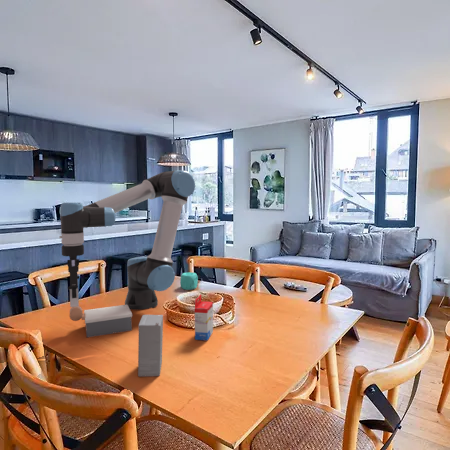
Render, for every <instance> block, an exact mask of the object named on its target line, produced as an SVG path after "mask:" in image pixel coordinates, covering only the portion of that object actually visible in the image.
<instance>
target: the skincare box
mask: <svg viewBox="0 0 450 450" xmlns="http://www.w3.org/2000/svg"><path fill="white" fill-rule="evenodd" d="M163 331H164V314H142V315H141V318H140V320H139V322H138V351H137V352H138V353H137V354H138V355H137V356H138V357H137V359H138V361H137V367H138V368H137V375H138V377H139V378H140V377H159V376H161V370H162V364H163V340H164V339H163V337H164V335H163V334H164V333H163Z"/></svg>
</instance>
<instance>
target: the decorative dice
mask: <svg viewBox="0 0 450 450" xmlns="http://www.w3.org/2000/svg"><path fill="white" fill-rule="evenodd" d="M198 279H199V278H198V275H197V273H196V272H192V271H191V272H189V271H188V272H183V273H181V275H180V280H179V281H180V288H181V289H183V290H184V291H185V290H186V291H190V290H195V289H197V287H198V283H199V280H198Z"/></svg>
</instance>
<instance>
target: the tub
mask: <svg viewBox="0 0 450 450" xmlns="http://www.w3.org/2000/svg"><path fill="white" fill-rule="evenodd" d="M132 325H133V323H132V317H126V318H119V319H112V320H106V321H99V322H92V323H85V333H86V338H91V337H92V338H93V337H99V336H106V335H111V334H117V333H124V332H130V331H132V330H133V327H132Z"/></svg>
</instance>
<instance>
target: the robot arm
mask: <svg viewBox="0 0 450 450" xmlns="http://www.w3.org/2000/svg"><path fill="white" fill-rule="evenodd" d="M195 190H196V182H195V179H194V177H193V175H192V174H191V173H190V171H189V172H188V171H187V170H183V169H182V170H181V169H177V170H170V171H163V172H160V173H157V174H155V175H153V176H152V177H148V178H146V179H144V180H143V181H142V183H139V184H137V185H135V186H132V187H130V188H128V189H124V190H122V191H119V192H117V193H115V194H112V195H110V196H107V197H105V198H102V199H99V200H97V201H94V202H92V203H89V204H87V205H84V204H83V203H82V202H62V203H61V204H60V209H59V210H60V211H59V213H60V215H59V217H60V233H61V234H60V235H59V238H58V239H60V240H61V241H60V242H61V244H62V245H61V256H63V257H69V259H67V262H66V263H67V268H68V269H67V271H68V273H69V286H67V290H69V307H70V308H72V307H76V306H80V304H79V281H78V280H79V279H80V276H79V275H78V272H79V266H80V259H78V258H77V257H79V256H83V255H84V254H85V245H84V243H85V238H84V235H85V233H84V229H85V228H86V229H87V228H100V227H101V228H102V227H103V228H106V227H112V226H113V225H114V224H115V222H116V213H119V212H121V211H123V210H126V209H127V208H130V207H132V206H135V205H137V204H139V203H142V202H144V201H146V200H154V199H157V198H161V199H162V201H163V203H162V206H161V212H160V216H159V220H158V224H157V229H156V232H155V235H154V242H153V245H152V250H151V253H150V254H148V255H147V256H138V257H133V258H129V259H128V260H127V265H126V269H127V271H126V272H127V286H128V287H127V293H126V297H125V301H124V305H128V307H129V309H130V310H133V311H134V310H135V311H139V310H141V311H142V310H149V309H153V308H156V307H157V306H158V304H159V301H158V300H159V299H158V297H157V295H156V292H164V291H166V290H168V289H169V288H170V287H172V285H173V283H174V282H175V279H176V278H175V277H176V273H175V270H174V268H173V263H174V261H173V260H172V258H171V257H172V253H173V250H174V249H173V248H174V245H175V240H176V235H177V231H178V227H179V222H180V218H181V215H182V214H181V213H182V211H183V210H182V208H183V206H185V205H186V204H187V203H188V199H189V197H190V196H191V195H193V193H194V192H195Z"/></svg>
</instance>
